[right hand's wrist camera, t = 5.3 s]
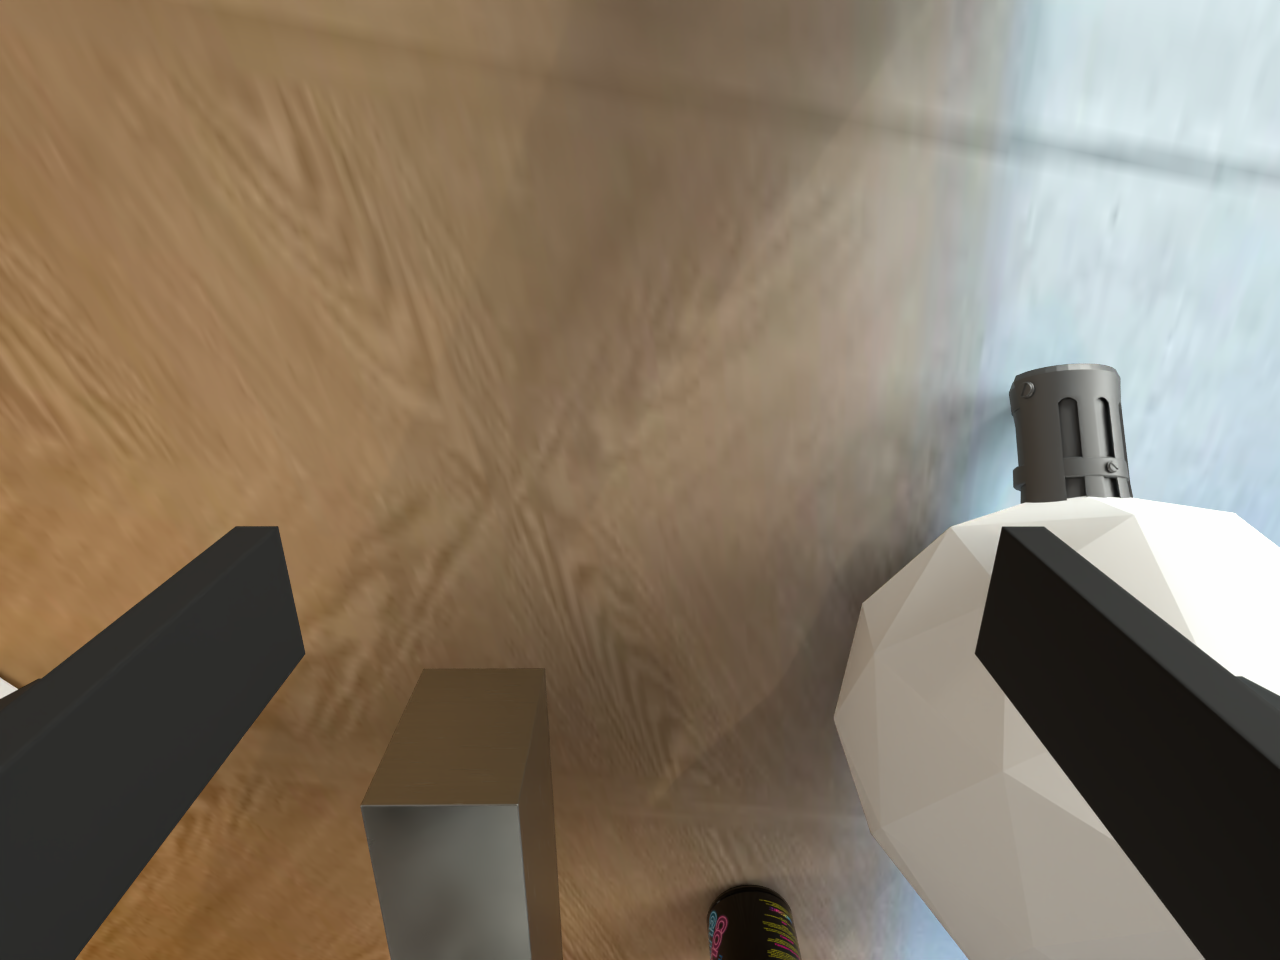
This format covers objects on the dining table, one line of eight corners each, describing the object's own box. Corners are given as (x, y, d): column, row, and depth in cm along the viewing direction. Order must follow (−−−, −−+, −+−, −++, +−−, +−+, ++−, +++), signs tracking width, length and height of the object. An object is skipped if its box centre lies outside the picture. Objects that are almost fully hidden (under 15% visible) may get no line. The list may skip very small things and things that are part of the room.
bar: (423, 668, 34) (359, 805, 26) (545, 668, 34) (518, 804, 26) (470, 1008, 43) (434, 1183, 35) (566, 1007, 43) (550, 1182, 35)
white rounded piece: (773, 914, 40) (1163, 1340, 17) (767, 419, 46) (1056, 231, 22) (1100, 888, 45) (1752, 1194, 22) (1059, 443, 50) (1547, 308, 27)
